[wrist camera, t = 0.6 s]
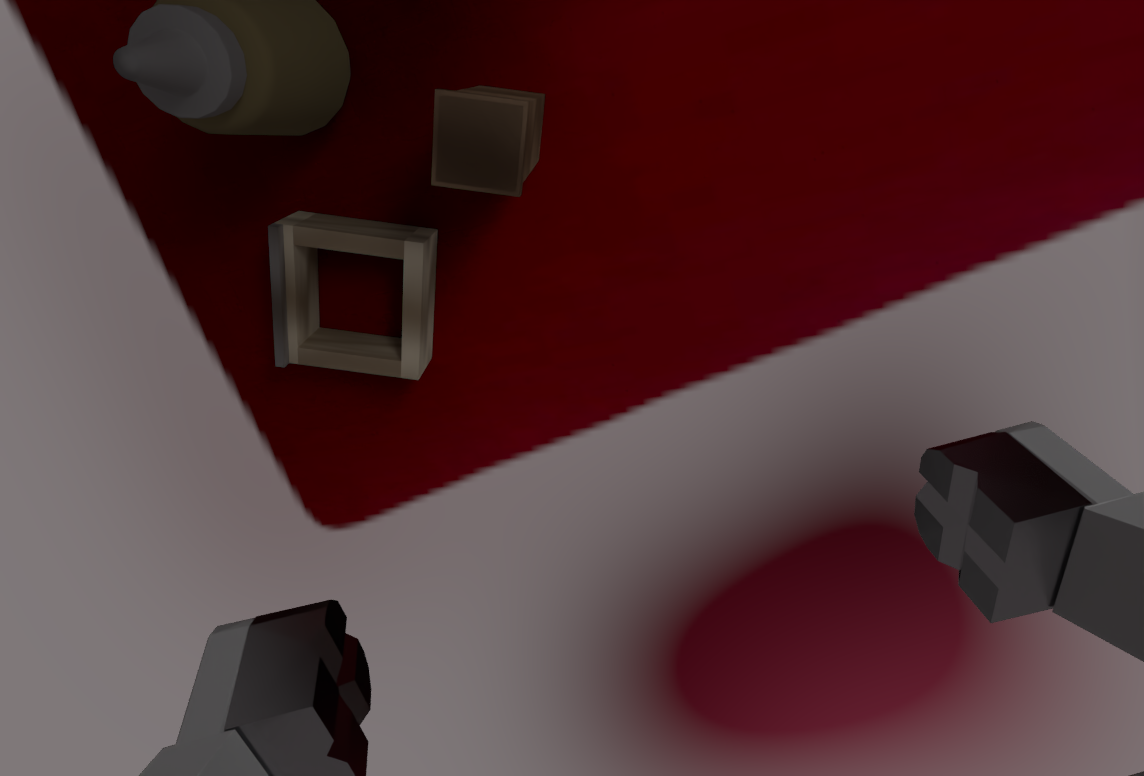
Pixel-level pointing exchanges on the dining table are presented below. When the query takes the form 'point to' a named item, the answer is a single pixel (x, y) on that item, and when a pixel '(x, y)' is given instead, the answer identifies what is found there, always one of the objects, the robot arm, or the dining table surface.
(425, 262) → the frame
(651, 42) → the dining table surface
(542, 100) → the brown capped wooden post
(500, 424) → the dining table surface
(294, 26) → the squeeze bottle
